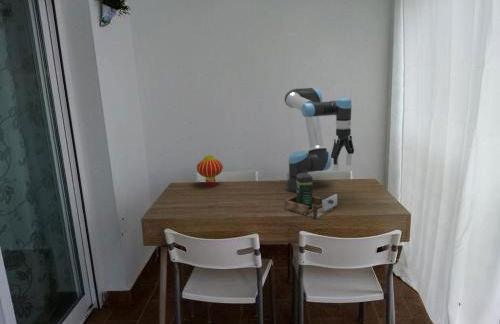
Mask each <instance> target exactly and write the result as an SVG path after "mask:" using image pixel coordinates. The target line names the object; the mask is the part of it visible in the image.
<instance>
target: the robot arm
mask: <svg viewBox="0 0 500 324" xmlns="http://www.w3.org/2000/svg"><path fill="white" fill-rule="evenodd" d="M284 103H285V105H286V106H288V107H289V108H290V109H296V110H298V111H300V112H301V114H302V116H303V117H304V119H305V125H306V132H307V139H308V145H309V149H308V150H307V151H305V150H302V151H300V150H299V151H295V152H292V153H290V154H289V157H288V179H287V182H286V186H285V187H286V190H287V191H288V192H291V193H297V184H296V176H297V174H299V173H307V174H309V173H313V172H323V171H328V170H329V169H330V168H331V165H333V171H340V169H339V168H340V159H339V155H340V153H341V151H342V148H345V151H346V152H347V153H346V156H345V157H346V161H345V162H346V164H345V165H346V166H348V167H349V166H352V154H354V153H355V149H354V148H355V147H354V144H353V143H354V142H353V136H352V135H351V134H352V133H351V132H352V129H351V126H352V125H351V124H352V99H351V98H347V97H343V98H337V99H336V100H329V101H323V96H322V92H321V91H320V90H319V89H318V88H317V87H306V88H303V87H302V88H293V89H290V90H289V91H287V93H286V94H285V96H284ZM325 116H335V117H336V119H335V120H336V121H335V128H336V129H335V135H336V136H337V138H334V139H333V146H332V150H331V152H330V151H328V150H327V147H325V145H324V140H323V134H322V127H321V122H320V117H325ZM332 162H333V164H332Z"/></svg>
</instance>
